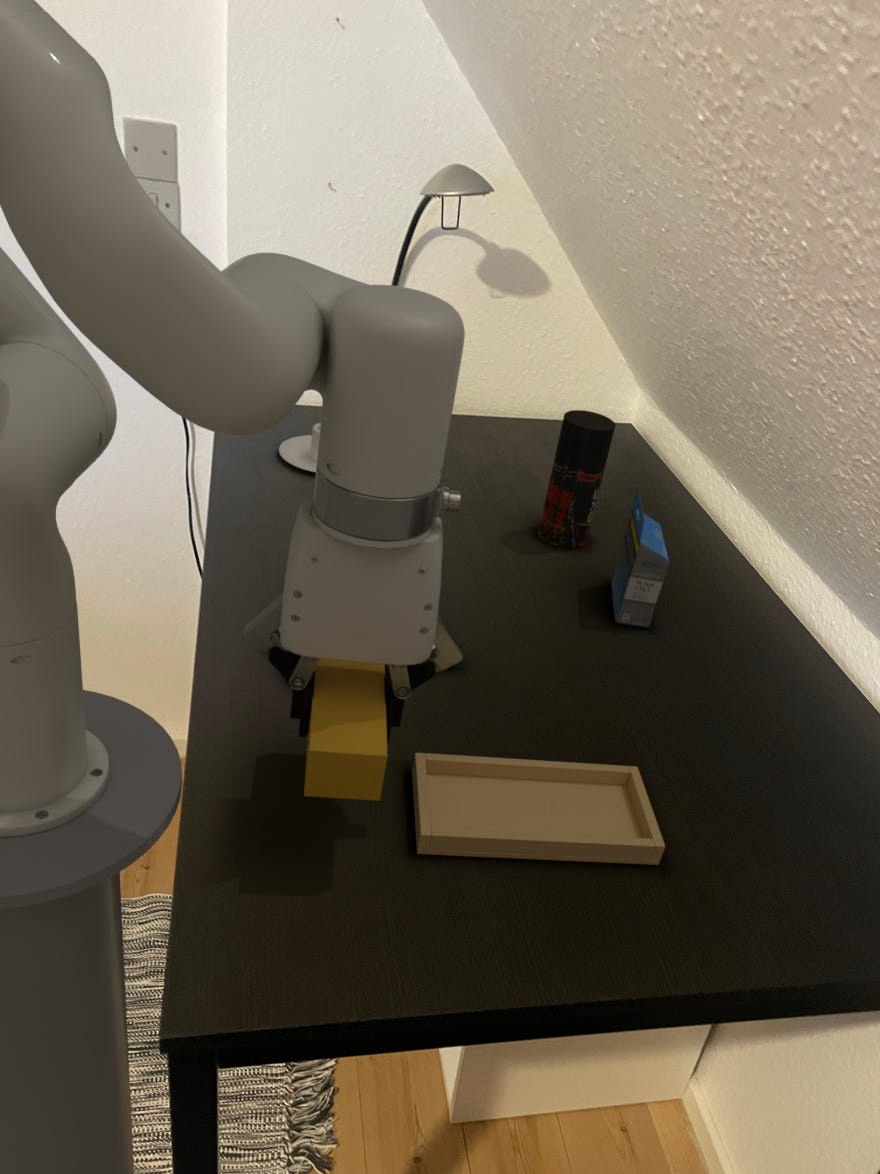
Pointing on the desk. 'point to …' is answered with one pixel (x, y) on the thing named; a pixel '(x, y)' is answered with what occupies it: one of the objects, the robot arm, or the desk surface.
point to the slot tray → (533, 810)
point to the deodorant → (576, 478)
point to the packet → (347, 731)
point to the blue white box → (639, 569)
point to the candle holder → (302, 450)
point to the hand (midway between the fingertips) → (344, 725)
